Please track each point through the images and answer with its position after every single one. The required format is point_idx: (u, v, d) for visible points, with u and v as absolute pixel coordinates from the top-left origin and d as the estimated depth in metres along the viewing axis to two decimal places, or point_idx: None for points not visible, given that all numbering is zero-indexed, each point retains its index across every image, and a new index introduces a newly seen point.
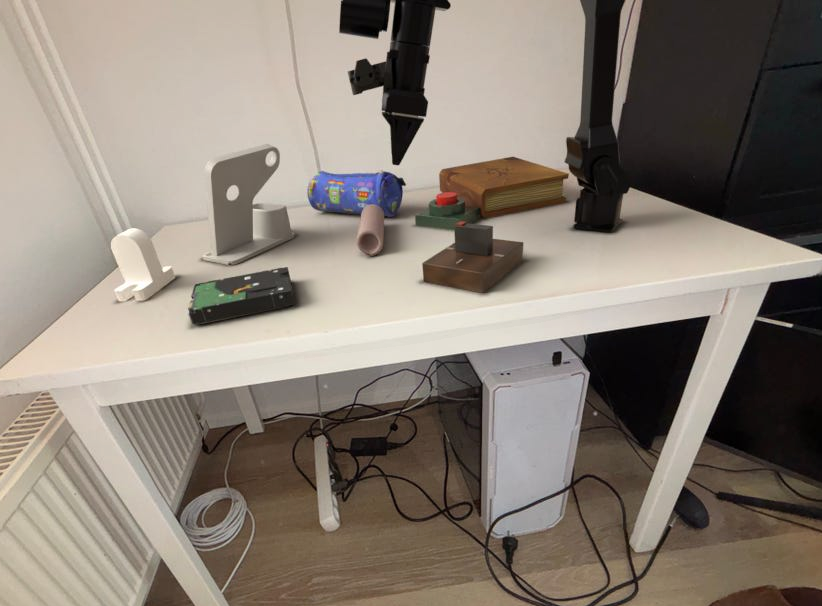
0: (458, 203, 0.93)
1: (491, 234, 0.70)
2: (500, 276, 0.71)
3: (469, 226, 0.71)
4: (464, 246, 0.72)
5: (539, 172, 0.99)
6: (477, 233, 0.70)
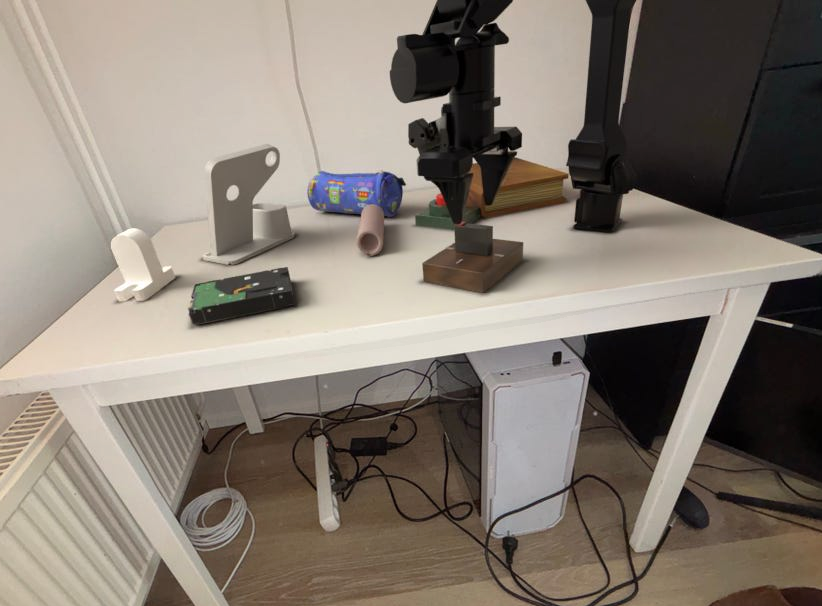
0: None
1: (491, 234, 0.70)
2: (500, 276, 0.71)
3: (469, 226, 0.71)
4: (464, 246, 0.72)
5: (539, 172, 0.99)
6: (477, 233, 0.70)
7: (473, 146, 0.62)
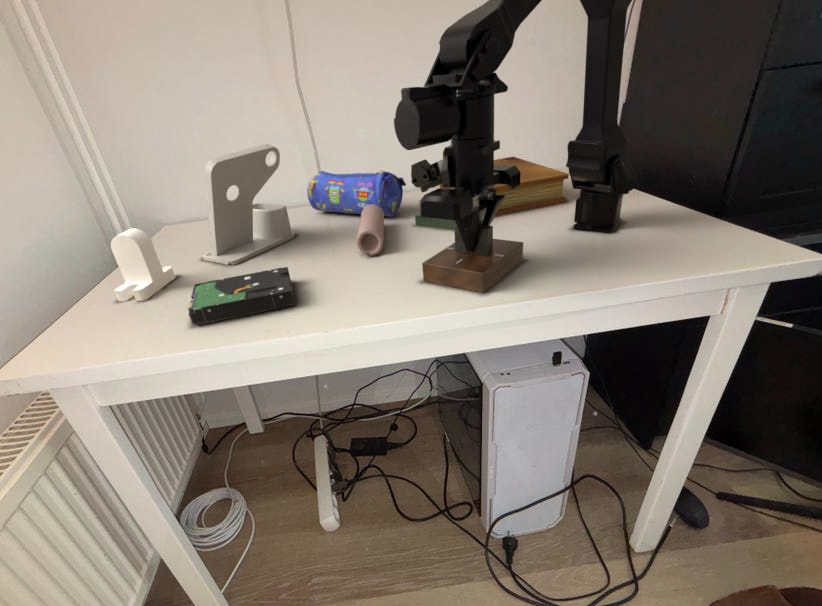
0: None
1: (491, 234, 0.70)
2: (500, 276, 0.71)
3: None
4: (464, 246, 0.72)
5: (539, 172, 0.99)
6: None
7: (473, 187, 0.65)
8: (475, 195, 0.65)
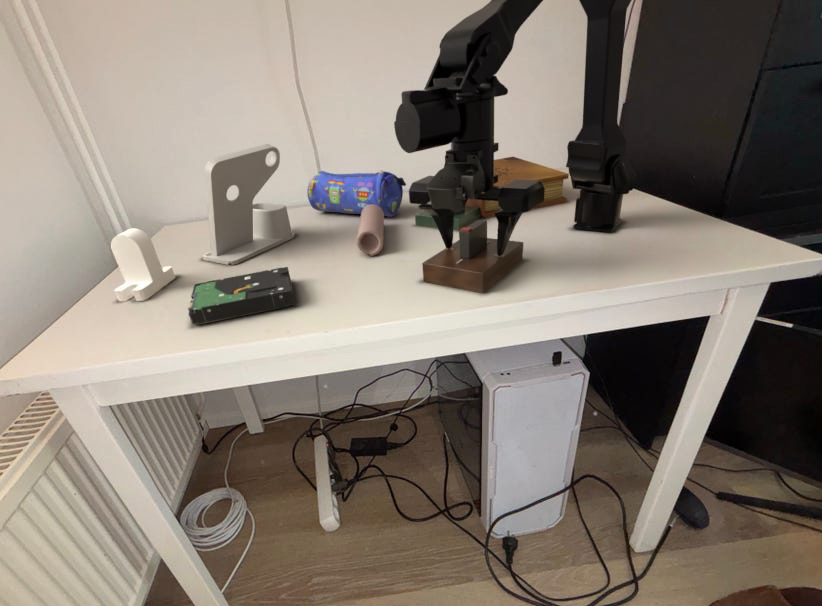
0: None
1: None
2: (500, 276, 0.71)
3: (474, 226, 0.70)
4: (474, 248, 0.71)
5: (539, 172, 0.99)
6: (481, 229, 0.71)
7: (493, 183, 0.67)
8: None
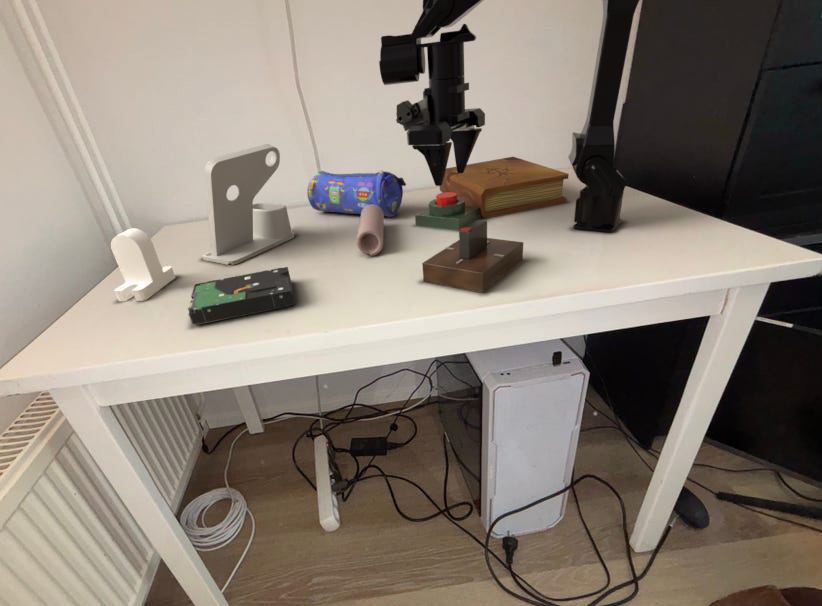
0: (458, 203, 0.93)
1: None
2: (500, 276, 0.71)
3: (474, 226, 0.70)
4: (474, 248, 0.71)
5: (539, 172, 0.99)
6: (481, 229, 0.71)
7: (449, 121, 0.79)
8: None
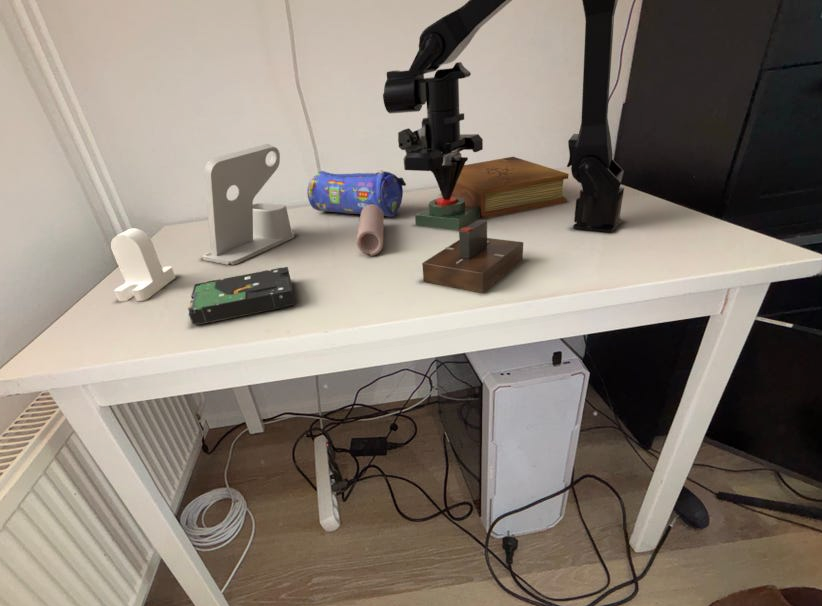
0: (458, 203, 0.93)
1: None
2: (500, 276, 0.71)
3: (474, 226, 0.70)
4: (474, 248, 0.71)
5: (539, 172, 0.99)
6: (481, 229, 0.71)
7: (444, 148, 0.87)
8: (448, 153, 0.87)
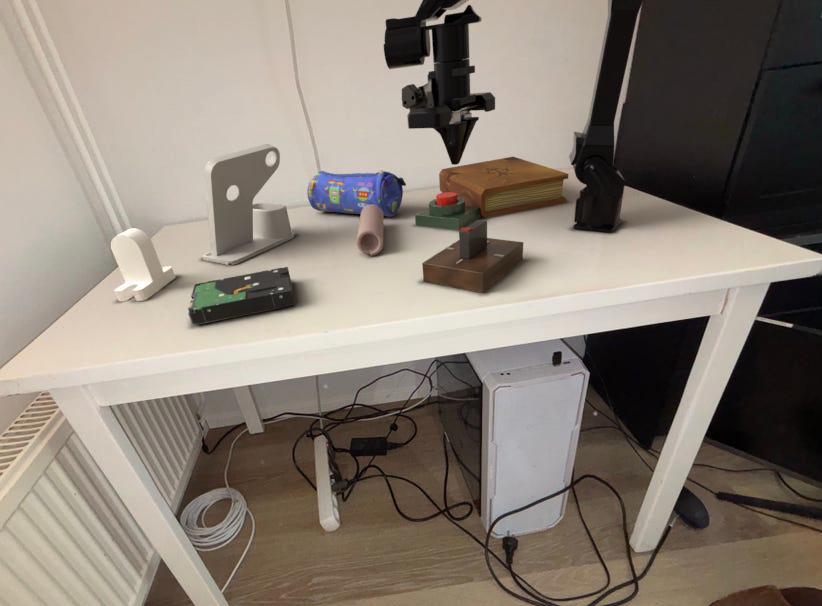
0: (458, 203, 0.93)
1: None
2: (500, 276, 0.71)
3: (474, 226, 0.70)
4: (474, 248, 0.71)
5: (539, 172, 0.99)
6: (481, 229, 0.71)
7: (452, 105, 0.78)
8: (456, 110, 0.78)
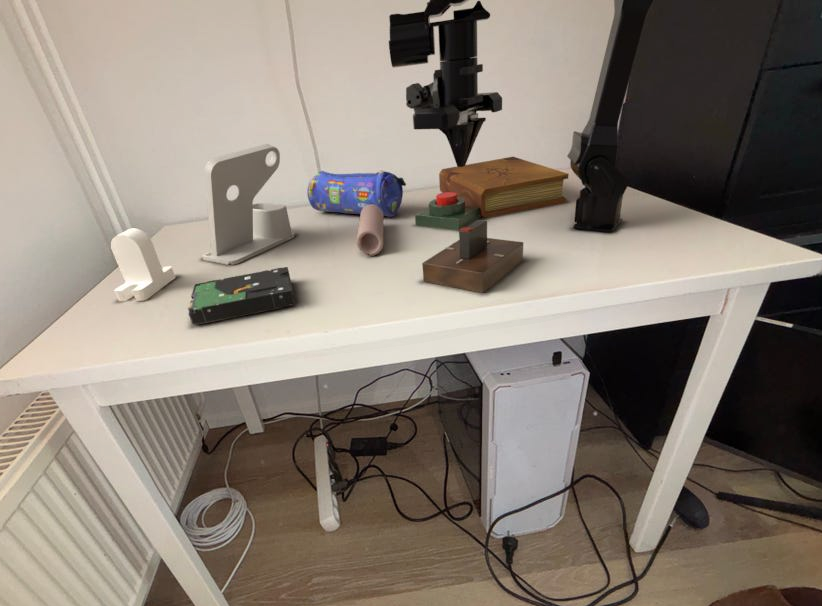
0: (458, 203, 0.93)
1: None
2: (500, 276, 0.71)
3: (474, 226, 0.70)
4: (474, 248, 0.71)
5: (539, 172, 0.99)
6: (481, 229, 0.71)
7: (460, 105, 0.75)
8: (464, 110, 0.75)
